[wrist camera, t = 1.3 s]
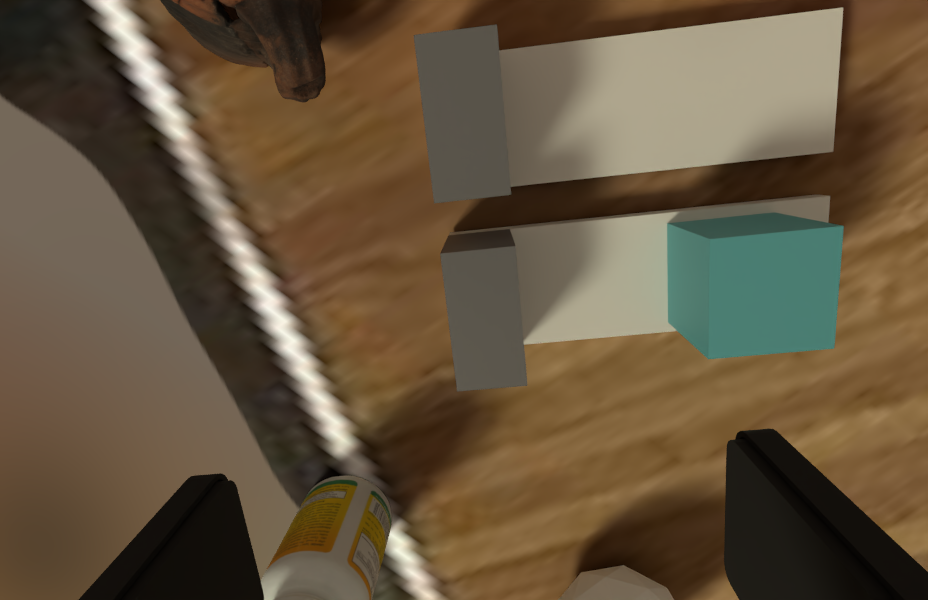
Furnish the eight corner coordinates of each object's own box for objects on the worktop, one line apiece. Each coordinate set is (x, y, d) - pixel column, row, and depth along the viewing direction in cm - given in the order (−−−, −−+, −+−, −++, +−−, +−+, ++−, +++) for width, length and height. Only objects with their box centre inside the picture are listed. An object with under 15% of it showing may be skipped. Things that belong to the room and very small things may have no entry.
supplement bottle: (408, 497, 31) (377, 641, 22) (368, 562, 33) (322, 722, 23) (327, 456, 31) (260, 585, 22) (289, 523, 32) (210, 671, 23)
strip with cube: (817, 194, 26) (913, 205, 20) (809, 312, 27) (897, 354, 22) (450, 232, 27) (440, 253, 21) (462, 343, 28) (457, 391, 23)
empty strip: (828, 13, 24) (939, -33, 18) (820, 151, 25) (919, 151, 19) (430, 63, 25) (413, 35, 19) (445, 192, 26) (433, 203, 21)
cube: (774, 212, 25) (843, 225, 20) (770, 313, 26) (834, 348, 22) (667, 223, 25) (709, 239, 21) (667, 322, 27) (708, 359, 22)
